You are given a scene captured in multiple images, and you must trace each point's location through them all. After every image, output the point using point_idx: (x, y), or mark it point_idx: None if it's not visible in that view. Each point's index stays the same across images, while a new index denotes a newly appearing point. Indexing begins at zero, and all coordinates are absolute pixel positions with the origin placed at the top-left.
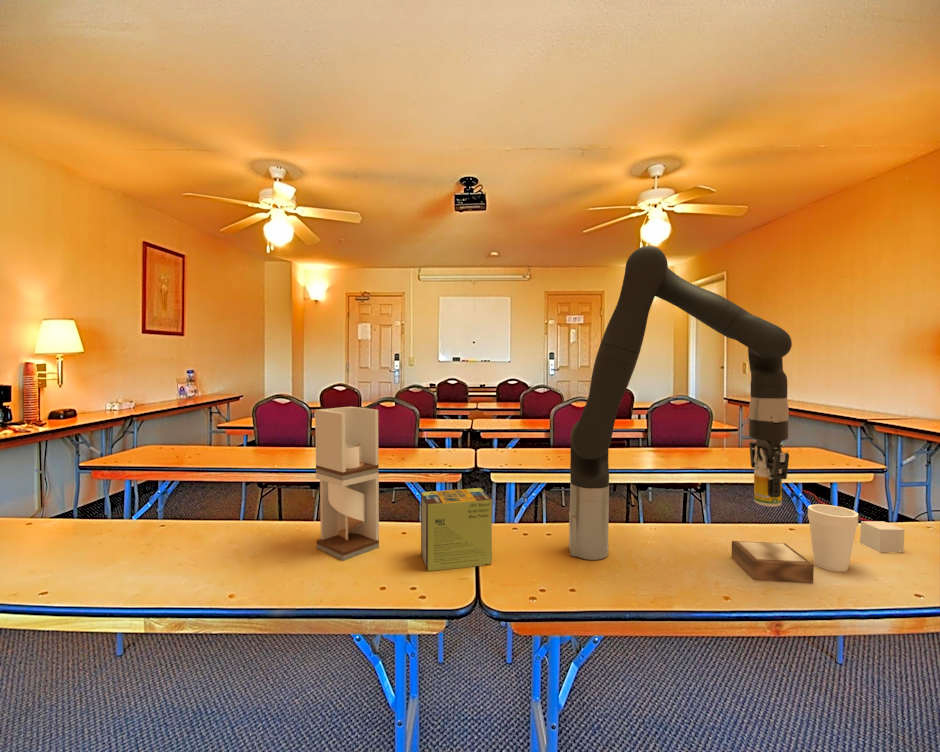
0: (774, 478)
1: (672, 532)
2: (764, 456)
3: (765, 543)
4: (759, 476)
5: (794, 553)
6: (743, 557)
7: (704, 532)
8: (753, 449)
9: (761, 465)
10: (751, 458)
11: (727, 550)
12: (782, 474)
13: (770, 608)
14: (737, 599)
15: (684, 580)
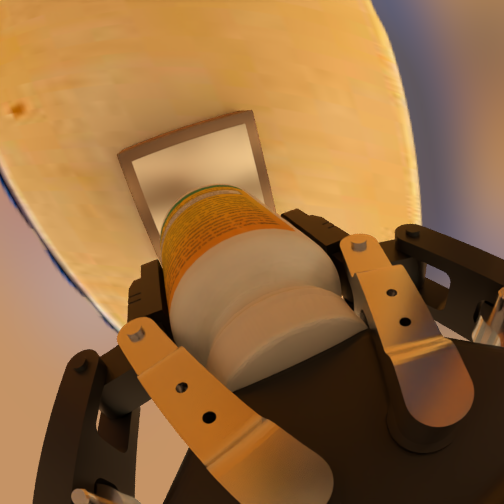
0: (71, 361)
1: (342, 18)
2: (198, 454)
3: (256, 187)
4: (189, 264)
5: None
6: (175, 131)
7: (364, 83)
8: (498, 299)
9: (234, 333)
10: (453, 247)
11: (278, 108)
12: (105, 413)
13: (13, 183)
14: (19, 128)
15: (64, 28)
